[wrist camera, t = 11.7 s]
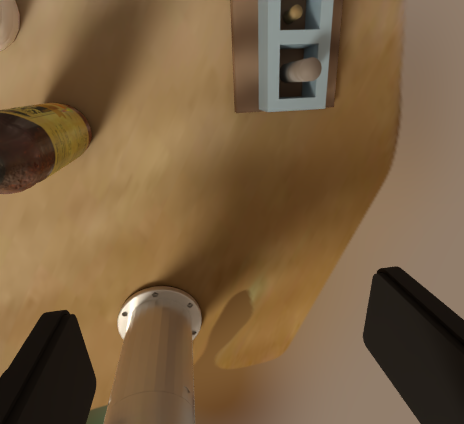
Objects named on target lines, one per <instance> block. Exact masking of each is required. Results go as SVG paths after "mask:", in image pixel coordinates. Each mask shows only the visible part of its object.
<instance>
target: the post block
mask: <svg viewBox="0 0 464 424" xmlns="http://www.w3.org/2000/svg"><path fill="white" fill-rule="evenodd" d="M230 3H231V28H232V53H233V78H234V103H235V112H236V113H244V112H260V111H262V110H259V55H258V0H230ZM342 6H343V0H334V2H333V15H332V28H331V41H330V54H329V67H328V80H327V92H326V105H325V108H326V107H334V100H335V88H336V76H337V65H338V53H339V41H340V29H341V18H342ZM305 16H306V0H281V10H280V30H305ZM303 58H304V48H299V49H280V64H279V98H280V97H299V96H302V82H306V81H314V80H316V79H317V78H318V77H319V76H320V74H321V70H322V66H321V63H320V61H319V60H318V59H317V58H314V57H310V58H306V59H303Z"/></svg>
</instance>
